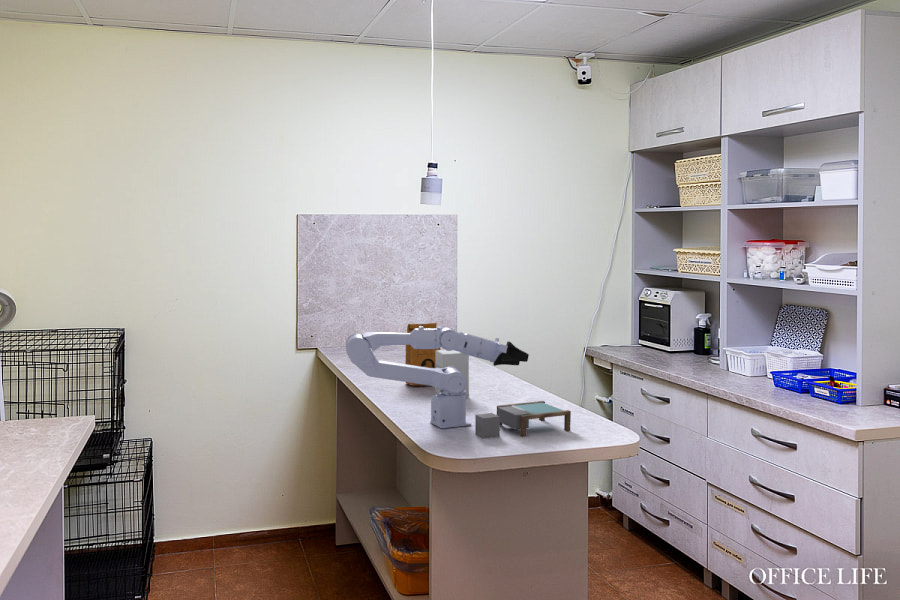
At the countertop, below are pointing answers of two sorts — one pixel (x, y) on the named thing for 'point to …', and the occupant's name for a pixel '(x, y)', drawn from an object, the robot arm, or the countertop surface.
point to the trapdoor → (522, 413)
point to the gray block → (487, 425)
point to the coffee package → (420, 352)
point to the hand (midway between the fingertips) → (523, 360)
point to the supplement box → (453, 364)
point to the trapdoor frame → (540, 417)
